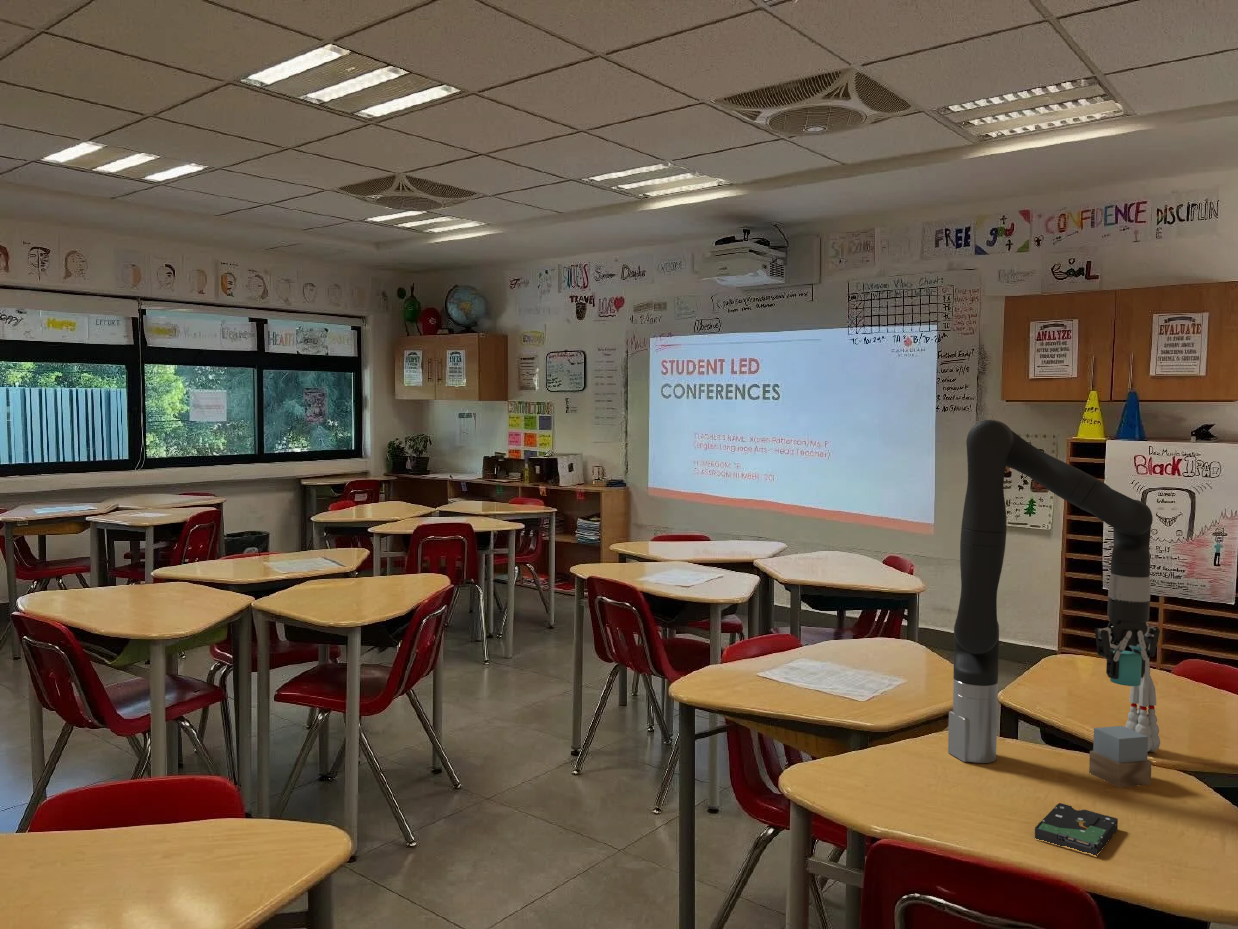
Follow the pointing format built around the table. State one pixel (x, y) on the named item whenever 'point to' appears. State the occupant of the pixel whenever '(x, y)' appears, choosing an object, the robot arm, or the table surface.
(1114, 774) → the base block
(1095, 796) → the table surface
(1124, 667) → the teal upright cylinder
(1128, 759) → the middle block
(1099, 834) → the disk drive
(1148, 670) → the rocket model
